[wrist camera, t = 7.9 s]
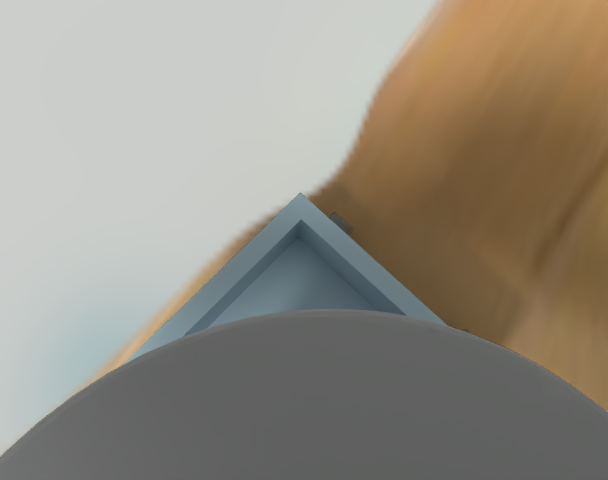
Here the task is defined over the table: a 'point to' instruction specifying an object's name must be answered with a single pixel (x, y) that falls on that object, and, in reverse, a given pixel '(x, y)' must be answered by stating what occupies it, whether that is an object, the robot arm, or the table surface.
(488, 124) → the table surface
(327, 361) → the container
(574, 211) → the table surface
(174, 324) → the cart
